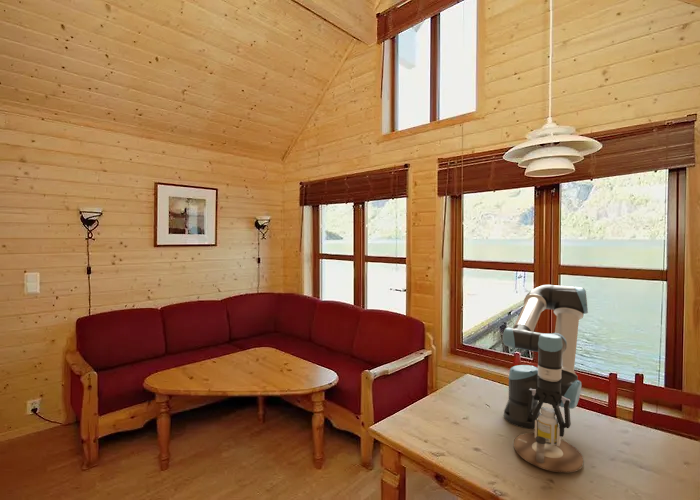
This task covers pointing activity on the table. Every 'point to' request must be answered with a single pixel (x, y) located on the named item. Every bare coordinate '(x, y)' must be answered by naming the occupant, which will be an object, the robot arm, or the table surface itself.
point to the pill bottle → (548, 425)
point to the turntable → (548, 453)
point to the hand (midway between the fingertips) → (547, 440)
